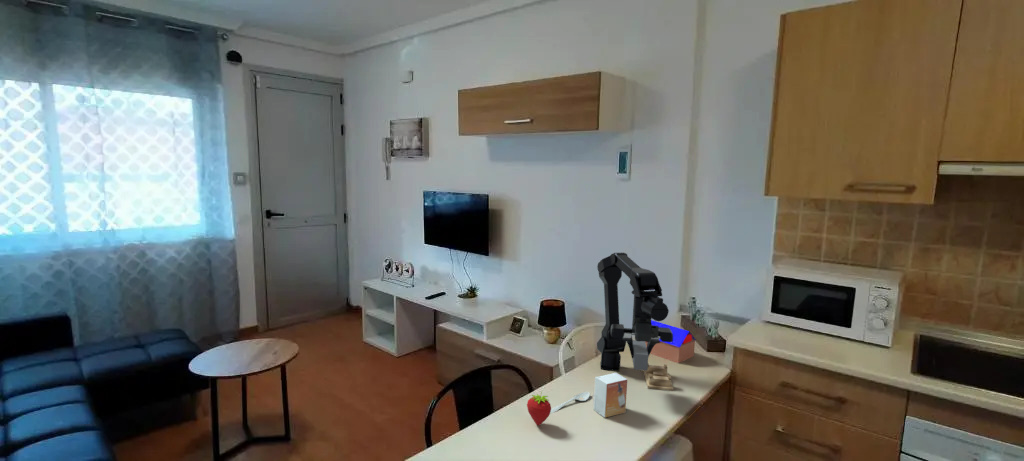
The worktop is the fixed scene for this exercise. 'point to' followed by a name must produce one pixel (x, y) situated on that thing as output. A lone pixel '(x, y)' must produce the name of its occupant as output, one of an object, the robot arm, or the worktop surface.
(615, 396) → the small box
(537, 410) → the strawberry
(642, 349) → the grey rectangular block
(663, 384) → the display stand
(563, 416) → the worktop surface
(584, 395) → the spoon
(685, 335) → the house
